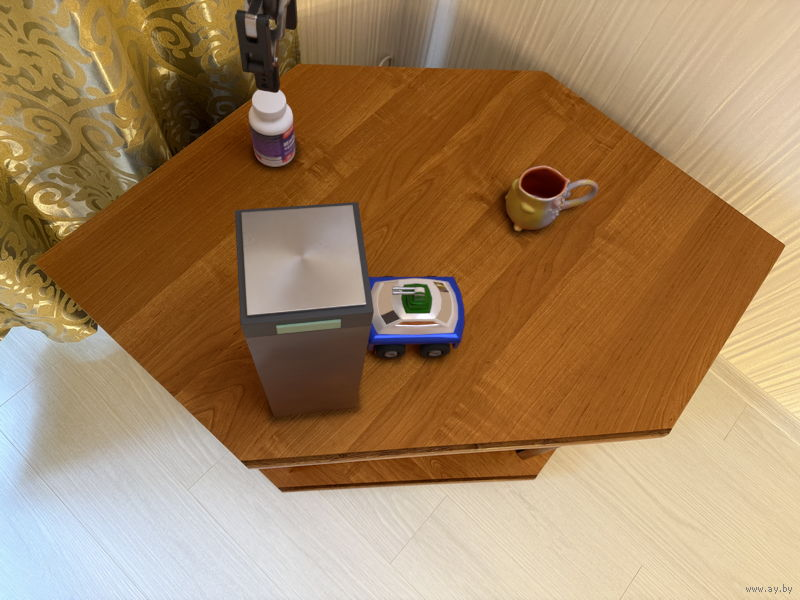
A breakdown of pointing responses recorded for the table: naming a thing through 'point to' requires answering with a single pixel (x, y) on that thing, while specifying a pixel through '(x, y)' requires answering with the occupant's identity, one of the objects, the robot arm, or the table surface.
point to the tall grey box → (305, 303)
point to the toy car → (415, 315)
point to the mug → (542, 197)
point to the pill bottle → (272, 128)
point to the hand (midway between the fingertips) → (277, 57)
